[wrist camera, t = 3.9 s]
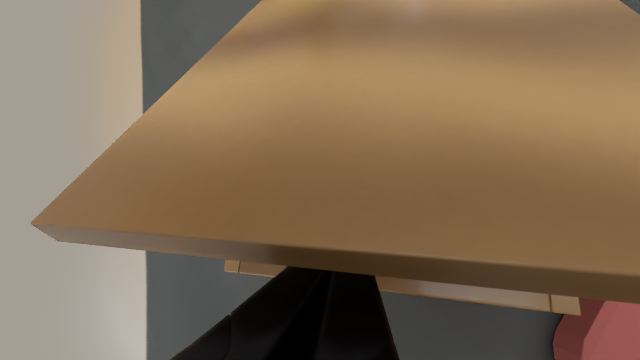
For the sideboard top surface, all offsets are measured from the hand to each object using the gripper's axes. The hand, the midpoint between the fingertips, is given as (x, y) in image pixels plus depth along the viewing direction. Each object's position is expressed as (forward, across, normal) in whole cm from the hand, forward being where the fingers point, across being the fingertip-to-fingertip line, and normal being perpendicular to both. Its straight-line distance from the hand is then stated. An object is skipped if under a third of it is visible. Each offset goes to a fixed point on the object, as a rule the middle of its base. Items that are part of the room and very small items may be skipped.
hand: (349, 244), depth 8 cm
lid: (+5, 0, -4) cm, 7 cm away
